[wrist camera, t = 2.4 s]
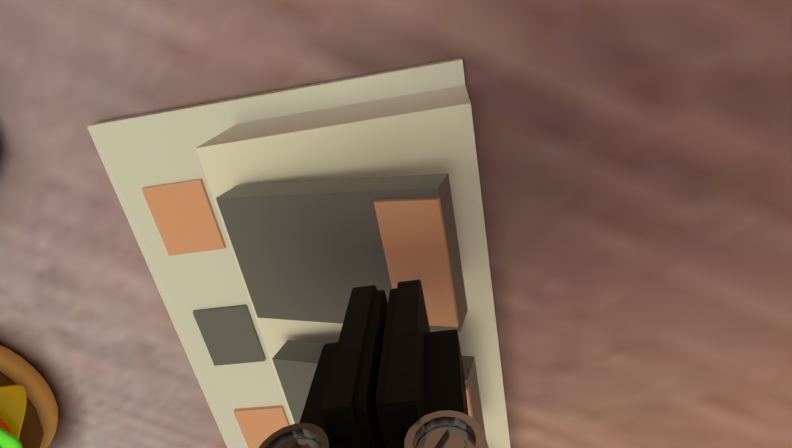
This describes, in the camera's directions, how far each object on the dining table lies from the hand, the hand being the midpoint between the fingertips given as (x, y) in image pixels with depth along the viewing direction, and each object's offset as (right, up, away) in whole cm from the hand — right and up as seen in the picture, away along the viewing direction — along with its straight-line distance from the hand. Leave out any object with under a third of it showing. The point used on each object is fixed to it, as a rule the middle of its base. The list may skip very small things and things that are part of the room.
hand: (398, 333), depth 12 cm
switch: (-2, +2, +5) cm, 5 cm away
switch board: (-4, -2, +14) cm, 15 cm away
